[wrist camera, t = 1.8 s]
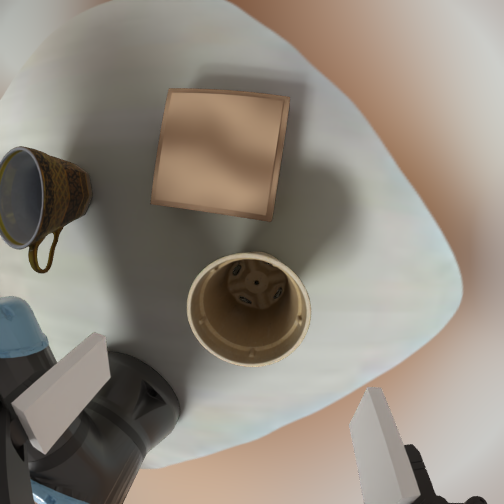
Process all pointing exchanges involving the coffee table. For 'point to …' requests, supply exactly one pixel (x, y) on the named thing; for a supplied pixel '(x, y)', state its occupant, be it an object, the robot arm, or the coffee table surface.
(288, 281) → the flower pot
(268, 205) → the stand
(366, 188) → the coffee table surface
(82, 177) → the ceramic cup
